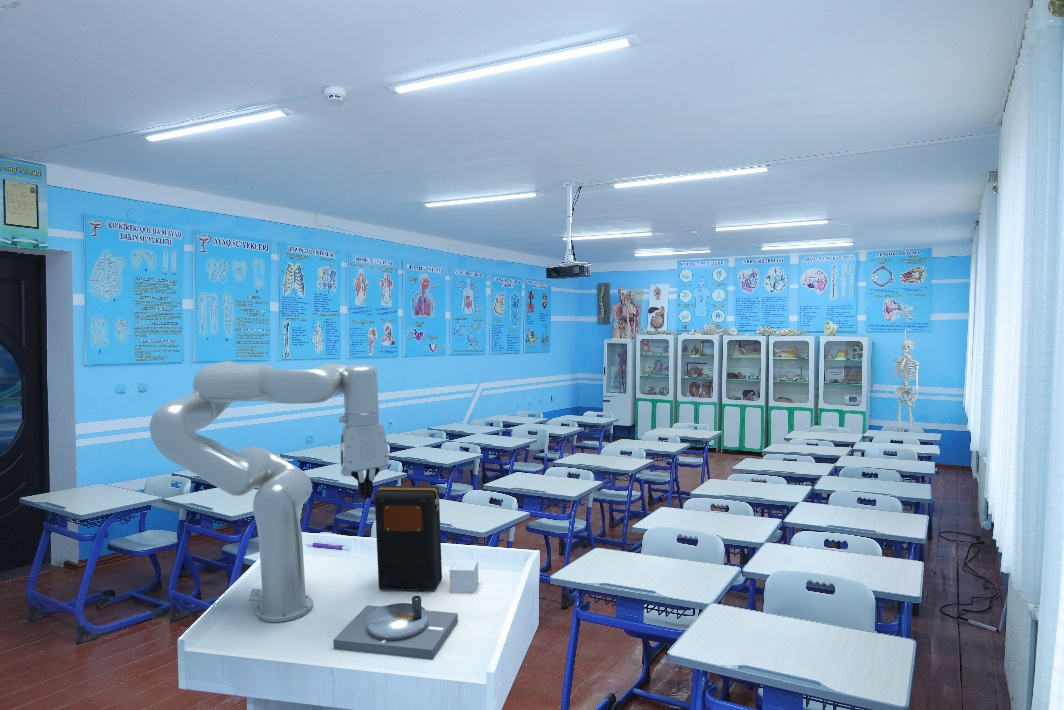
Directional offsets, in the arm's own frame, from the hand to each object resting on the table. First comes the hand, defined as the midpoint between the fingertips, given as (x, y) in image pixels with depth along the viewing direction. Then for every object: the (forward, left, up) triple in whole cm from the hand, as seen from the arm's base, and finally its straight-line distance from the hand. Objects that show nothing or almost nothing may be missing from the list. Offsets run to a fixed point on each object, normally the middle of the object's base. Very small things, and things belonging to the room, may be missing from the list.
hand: (365, 497), depth 164 cm
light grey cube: (+18, +15, -27) cm, 36 cm away
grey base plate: (+11, -10, -27) cm, 31 cm away
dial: (+11, -10, -25) cm, 29 cm away
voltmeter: (+4, +14, -27) cm, 31 cm away
